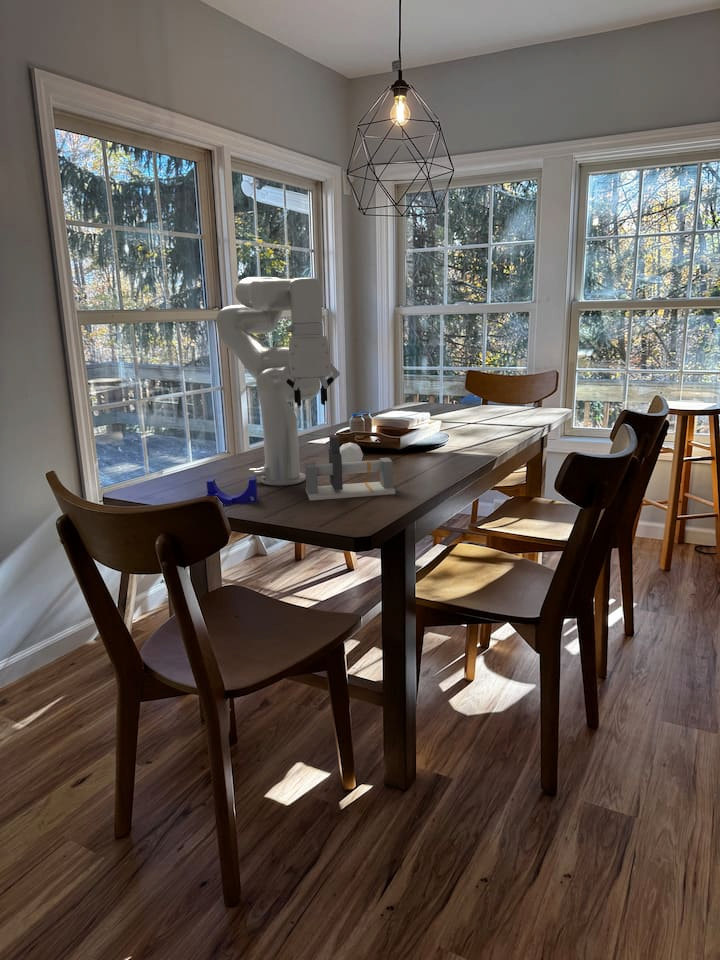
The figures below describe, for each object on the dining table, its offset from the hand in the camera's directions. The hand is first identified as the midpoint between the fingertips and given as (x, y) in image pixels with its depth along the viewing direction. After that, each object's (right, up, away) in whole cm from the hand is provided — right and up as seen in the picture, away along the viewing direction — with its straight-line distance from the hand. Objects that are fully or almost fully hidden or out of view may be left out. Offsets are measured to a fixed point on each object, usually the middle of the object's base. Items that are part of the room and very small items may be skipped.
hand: (311, 404), depth 168 cm
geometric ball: (+9, -15, +36) cm, 40 cm away
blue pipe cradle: (-20, -25, +1) cm, 32 cm away
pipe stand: (+10, -22, +7) cm, 25 cm away
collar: (+6, -20, +6) cm, 22 cm away
